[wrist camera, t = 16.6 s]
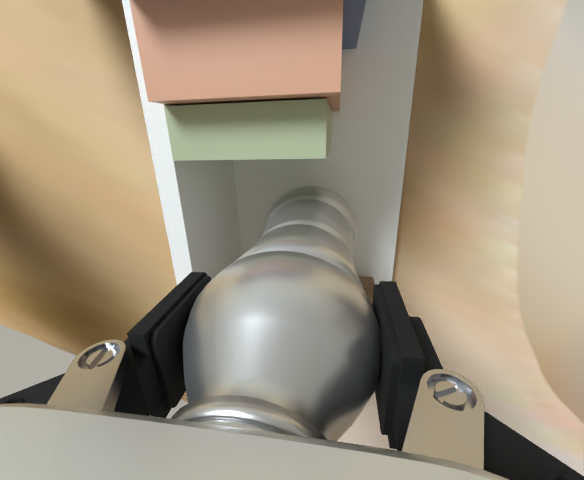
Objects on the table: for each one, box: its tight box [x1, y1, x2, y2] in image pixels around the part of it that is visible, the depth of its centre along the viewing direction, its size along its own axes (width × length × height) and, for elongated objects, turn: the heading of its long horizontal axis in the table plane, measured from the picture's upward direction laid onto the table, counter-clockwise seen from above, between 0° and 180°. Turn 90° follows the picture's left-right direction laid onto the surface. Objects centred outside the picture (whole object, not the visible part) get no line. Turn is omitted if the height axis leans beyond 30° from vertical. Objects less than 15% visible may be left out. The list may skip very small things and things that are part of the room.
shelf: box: [122, 0, 424, 285], centre depth 19 cm, size 15×30×13 cm, turn 1°
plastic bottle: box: [171, 186, 381, 441], centre depth 14 cm, size 6×7×20 cm
